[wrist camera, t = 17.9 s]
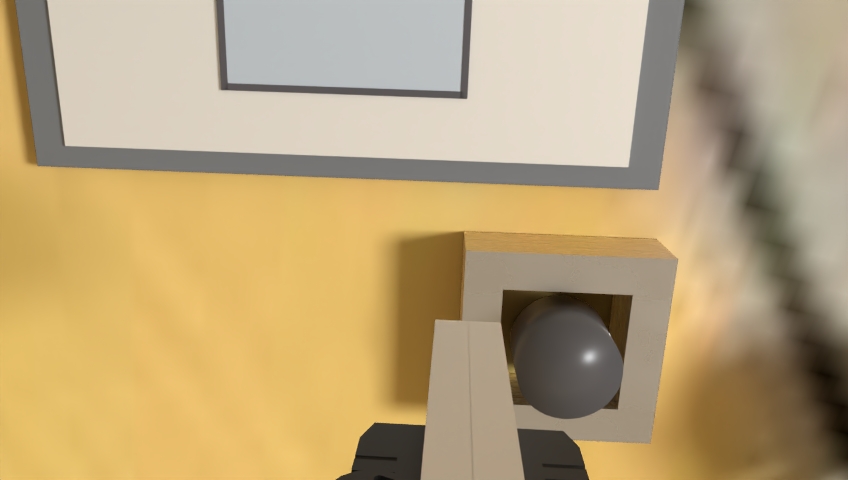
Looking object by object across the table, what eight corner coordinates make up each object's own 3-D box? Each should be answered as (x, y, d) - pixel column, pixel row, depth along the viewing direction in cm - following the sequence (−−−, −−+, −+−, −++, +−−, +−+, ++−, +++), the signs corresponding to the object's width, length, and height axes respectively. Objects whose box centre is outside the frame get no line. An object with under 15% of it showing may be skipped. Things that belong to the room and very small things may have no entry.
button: (506, 380, 31) (513, 416, 28) (513, 292, 30) (520, 321, 27) (600, 384, 31) (616, 421, 28) (610, 297, 30) (629, 326, 27)
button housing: (455, 401, 34) (455, 434, 31) (464, 231, 31) (465, 250, 28) (632, 409, 34) (650, 443, 31) (656, 239, 31) (678, 259, 28)
